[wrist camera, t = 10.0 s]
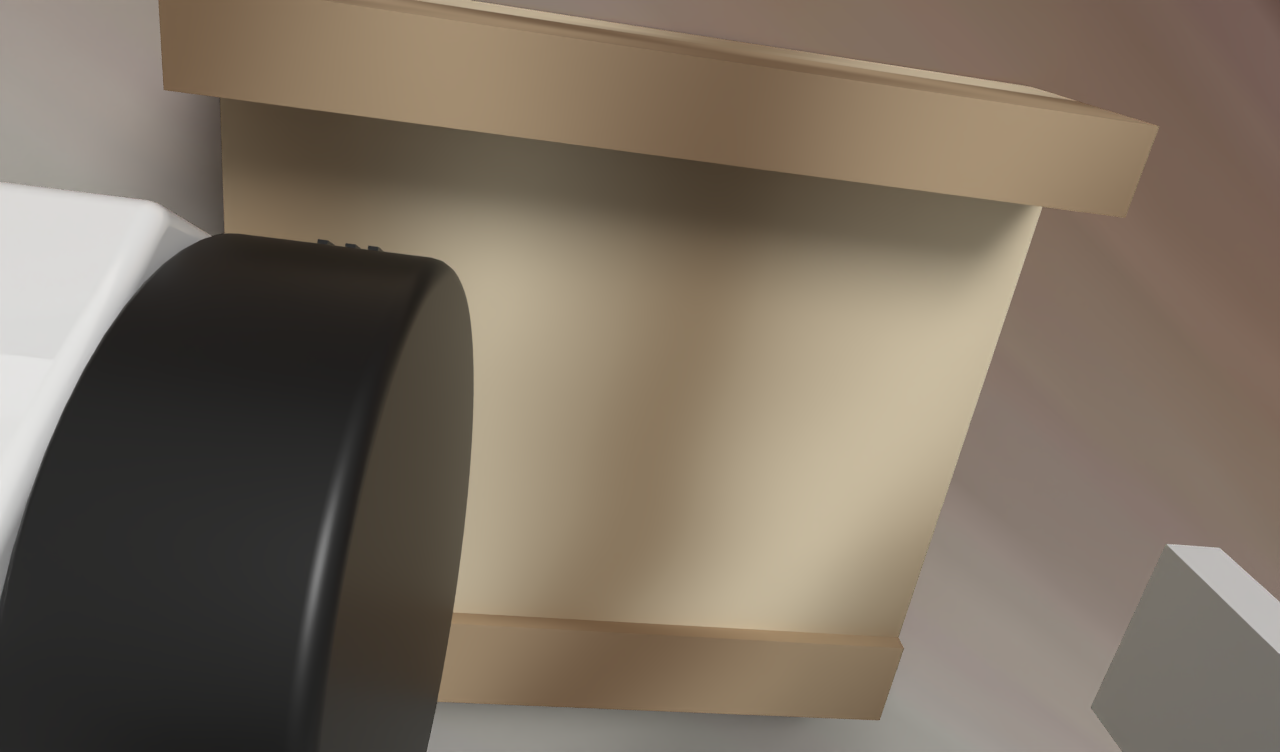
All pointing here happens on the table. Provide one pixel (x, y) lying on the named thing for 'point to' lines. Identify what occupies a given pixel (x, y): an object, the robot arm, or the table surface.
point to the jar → (223, 483)
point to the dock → (667, 316)
